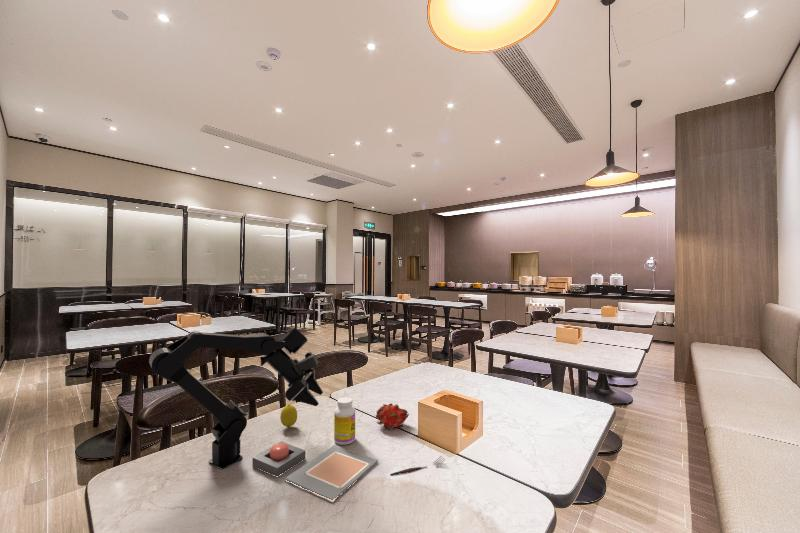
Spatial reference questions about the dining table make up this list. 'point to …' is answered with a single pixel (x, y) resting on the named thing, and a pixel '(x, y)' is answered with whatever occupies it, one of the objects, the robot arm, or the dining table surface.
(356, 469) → the picture board
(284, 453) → the button
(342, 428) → the supplement bottle
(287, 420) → the lemon
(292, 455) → the button frame
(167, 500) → the dining table surface
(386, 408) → the dragon fruit
